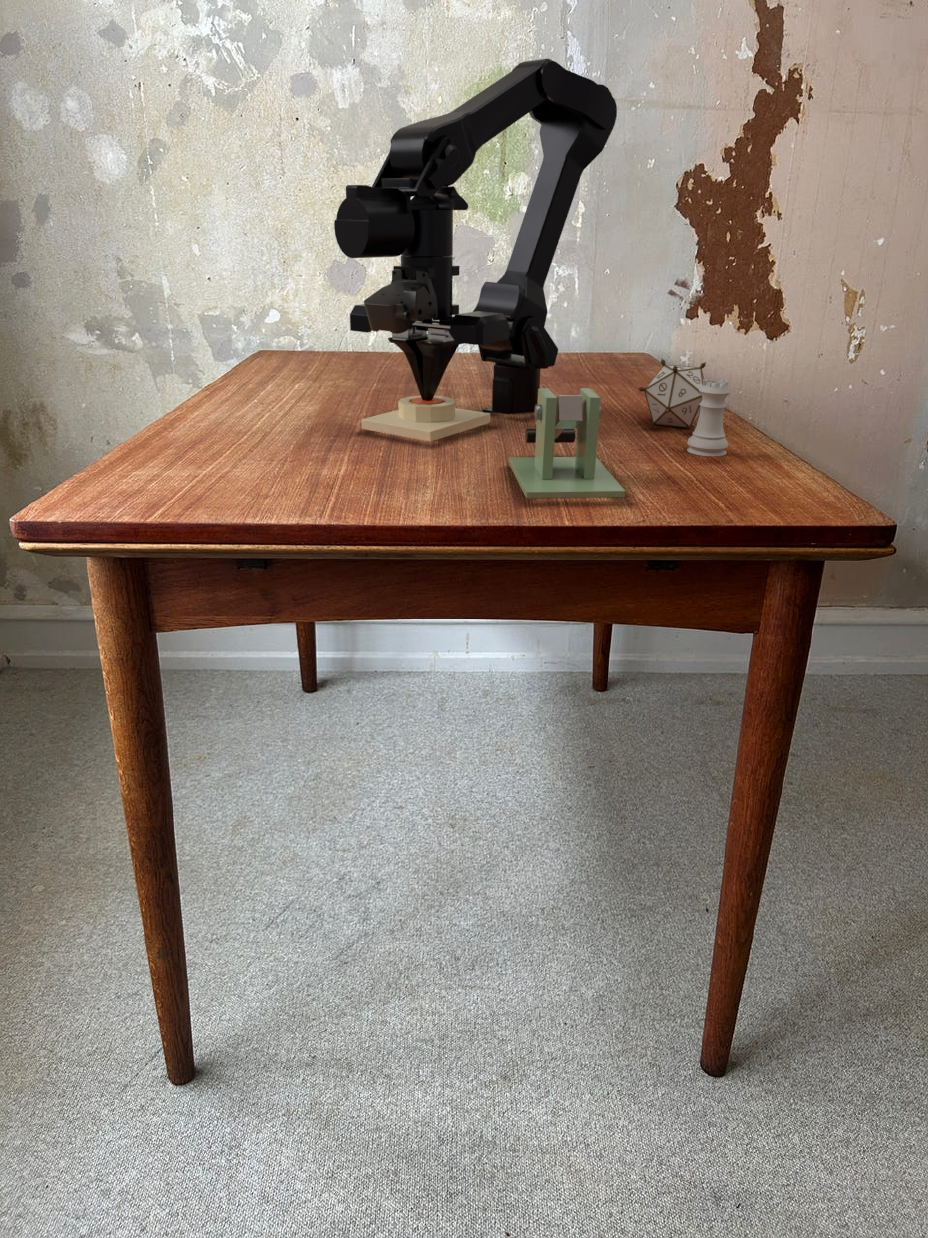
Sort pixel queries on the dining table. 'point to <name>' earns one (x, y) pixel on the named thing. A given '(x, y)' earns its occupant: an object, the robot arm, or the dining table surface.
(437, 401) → the button
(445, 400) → the button block
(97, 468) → the dining table surface
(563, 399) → the lever
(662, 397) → the game die
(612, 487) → the green lever stand
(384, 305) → the robot arm
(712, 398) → the rook chess piece
